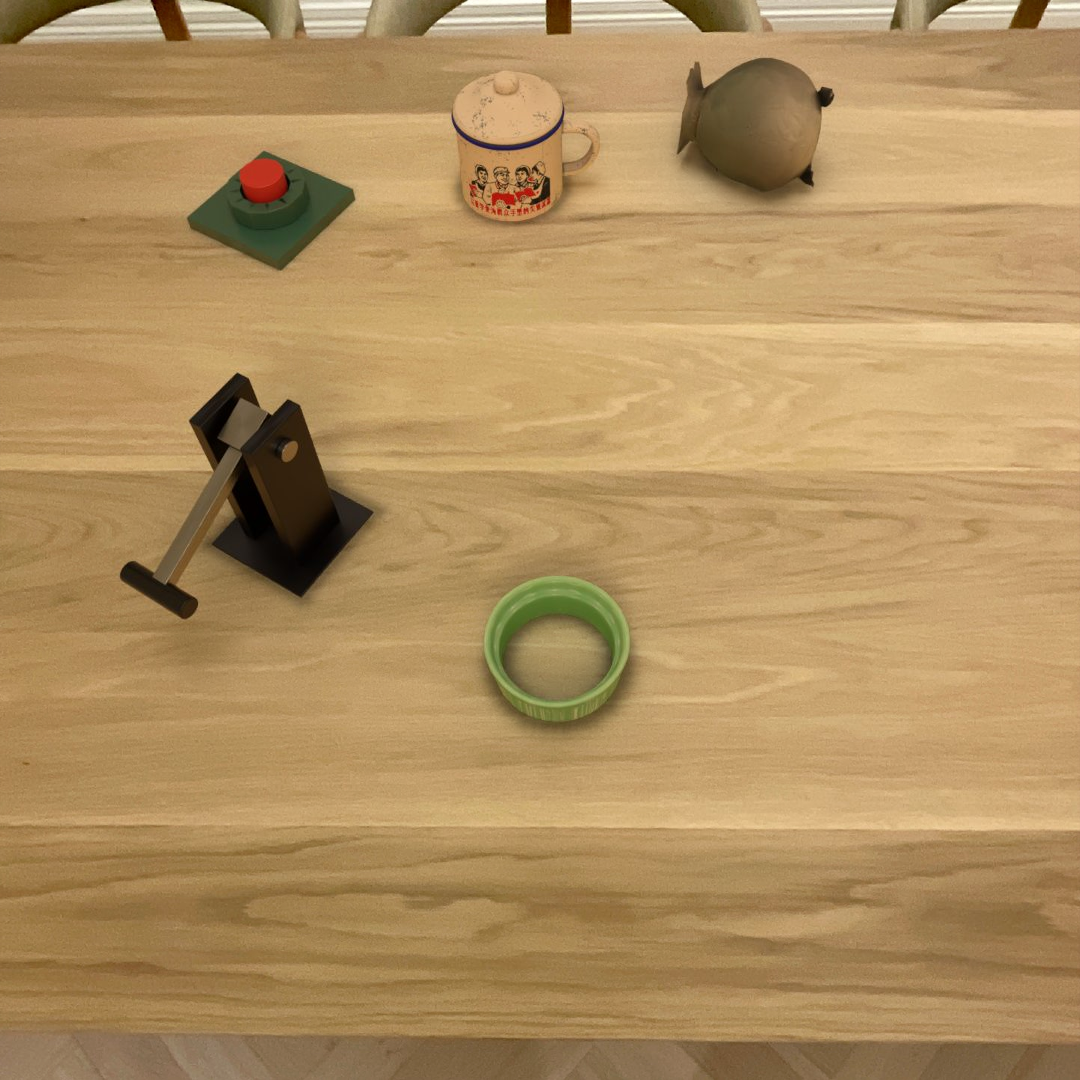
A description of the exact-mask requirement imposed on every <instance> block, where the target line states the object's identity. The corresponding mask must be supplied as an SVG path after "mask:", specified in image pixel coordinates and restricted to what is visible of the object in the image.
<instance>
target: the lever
mask: <svg viewBox="0 0 1080 1080" xmlns="http://www.w3.org/2000/svg"><path fill="white" fill-rule="evenodd" d="M272 415H273V414H272V413H270V412H269V411H267V410H265V409H263V408H262V407H261V408H259V407H258V406H256V405H254V404H252V403H250V402H248V401H246V400H244V399H242V398H240V400H239V401H238V403H237V405H236V406H235V408H234V410H233V412H232V413H231V415H230V417H229V418H228V420H227V422H226V423H225V425H224V427H223V428H222V430H221V432H220V433H219V435H218V437H217V438H218V439H220V440H222V441H223V442H225V443H227V444H228V445H230V446H229V448H228V449H227V451H226V453H225V454H224V456H223V458H222V459H221V461H220V463H219V464H218V466H217V468H216V470H215V471H213V473H212V475H211V477H210V478H209V479H208V480H207V481H208V482H207V483H206V484H205V486H204V488H203V490H202V491H201V494H200V495H199V497H198V498H197V500H196V502H195V503H194V505H193V507H192V508H191V510H190V512H189V514H188V515H187V517H186V519H185V520H184V521H183V524H182V525H181V527H180V529H179V530H178V532H177V534H176V536H175V537H174V539H173V541H172V543H171V544H170V545H169V547H168V549H167V551H166V552H165V554H164V556H163V558H162V559H161V561H160V563H159V564H158V566H157V567H156V569H155V571H153V570H151V569H150V568H148V567H146V566H144V564H141V563H140V562H139V561H137V560H130V561H128V562H126V563H125V564H124V565H123V567H122V568H121V570H120V571H119V579H120V581H121V582H122V583H124V584H125V585H127V586H129V587H130V588H132V589H134V590H135V591H137V592H138V593H140V594H141V595H143V596H145V597H146V598H148V599H150V600H151V601H153V602H154V603H156V604H157V605H159V606H160V607H162V608H163V609H165V610H167V611H169V612H170V613H172V614H173V615H175V616H176V617H178V618H180V619H181V620H188V619H189V618H191V617H192V616H193V615H194V614H195V613H196V611H197V610H198V607H199V600H198V598H196V597H195V596H193V595H192V594H190V593H188V592H187V591H185V590H184V589H182V588H180V587H179V586H177V584H178V582H179V581H180V579H181V577H182V575H183V573H184V572H185V570H186V569H187V567H188V566H189V564H190V562H191V560H192V558H193V557H194V555H195V554H196V552H197V550H198V549H199V546H200V545H201V544H202V542H203V540H204V538H205V537H206V534H207V533H208V531H209V530H210V528H211V526H212V524H213V523H214V521H215V520H216V517H217V516H218V514H219V512H220V511H221V509H222V508H223V506H224V504H225V502H226V501H227V500H228V499H227V497H228V495H229V494H230V492H231V490H232V489H233V487H234V485H235V484H236V482H237V480H238V478H239V477H240V475H241V473H242V472H243V470H244V468H245V467H246V465H247V464H246V462H245V459H244V457H243V455H242V453H241V450H240V448H241V447H242V446H243V445H244V444H245V443H246V442H247V441H248V440H249V439H250V438H251V436H252V435H253V434H254V433H255V432H256V431H257V430H258V429H259V428H260V427H261V426H262V425H263V424H264V423H265V422H266V421H267V420H268V419H269V418H270V417H271V416H272Z"/></svg>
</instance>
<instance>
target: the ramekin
mask: <svg viewBox="0 0 1080 1080" xmlns="http://www.w3.org/2000/svg"><path fill="white" fill-rule="evenodd" d="M547 615H569V616H573V617H576V618H579V619H581V620H584V621H585V622H587V623H588V624H590V625H592V626H593V627H594V628H595V629H596V630H597V631H598V632H599V633H601V635H602V636H603V638H604V639H605V641H606V643H607V645H608V647H609V650H610V654H611V666H610V668H609V669H608V672H607V673H606V675H605V676H604V677H603V679H602V680H600V682H598V684H597V685H596V686H595V687H593V688H592V689H590V690H589V691H586V692H585V693H582V694H581V695H578V696H576V697H572V698H567V699H562V700H550V699H544V698H539V697H536V696H533V695H531V694H529V693H527V692H525V691H524V690H522V689H521V688H520V687H518V686H517V685H516V684H515V683H514V682H513V681H512V680H511V679H510V677H509V676H508V674H507V673H506V671H505V669H504V654H505V651H506V648H507V646H508V643H509V641H510V640H511V639H512V637H513V636H514V634H515V633H516V632H517V631H518V630H519V629H520V628H521V627H523V626H524V625H525V624H527V623H528V622H530V621H533V620H534V619H536V618H539V617H543V616H547ZM629 627H630V626H629V624H628V621H627V618H626V615H625V614H624V612H623V611H622V608H621V607H620V606H619V604H618V603H617V602H616V600H615V599H614V598H613V597H612V596H611V595H609V593H607V592H606V591H605V590H604V589H602V588H601V587H600V586H598V585H596V584H594V583H592V582H590V581H587V580H585V579H582V578H579V577H575V576H570V575H557V574H554V575H545V576H540V577H536V578H533V579H530V580H526V581H524V582H523V583H521V584H519V585H517V586H515V587H514V588H511V590H510V591H508V592H507V593H505V595H503V596H502V597H501V598H500V600H499V601H497V603H496V604H495V606H494V607H493V609H492V610H491V612H490V613H489V616H488V618H487V620H486V624H485V627H484V632H483V642H482V643H483V654H484V658H485V661H486V664H487V666H488V669H489V671H490V673H491V675H492V677H493V678H494V679H495V681H496V683H497V687H498V688H499V690H500V691H501V693H502V696H503V697H505V698H506V700H507V701H508V702H509V703H510V704H511V705H512V706H513V707H514V708H516V709H517V710H518V711H519V712H521V713H523V714H525V715H527V716H529V717H532V718H533V719H537V720H542V721H545V722H556V723H558V722H564V723H565V722H570V721H575V720H577V719H580V718H583V717H585V716H588V715H590V714H592V713H593V712H595V711H596V710H598V709H599V708H600V707H602V705H604V704H605V703H606V702H607V701H608V699H609V698H610V697H611V696H612V694H613V693H614V692H615V690H616V689H617V685H618V683H619V682H620V678H621V674H622V672H623V671H624V670H625V666H626V664H627V662H628V659H629V654H630V650H631V634H630V628H629Z"/></svg>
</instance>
